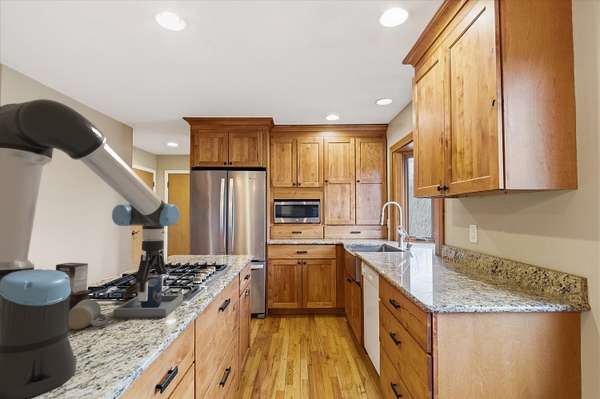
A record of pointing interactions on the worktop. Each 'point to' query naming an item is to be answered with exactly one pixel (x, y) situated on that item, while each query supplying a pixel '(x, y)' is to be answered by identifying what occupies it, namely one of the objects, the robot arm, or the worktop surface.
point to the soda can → (153, 292)
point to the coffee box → (75, 274)
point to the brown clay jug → (131, 290)
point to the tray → (136, 311)
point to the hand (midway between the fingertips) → (151, 295)
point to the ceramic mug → (86, 315)
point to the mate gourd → (78, 297)
